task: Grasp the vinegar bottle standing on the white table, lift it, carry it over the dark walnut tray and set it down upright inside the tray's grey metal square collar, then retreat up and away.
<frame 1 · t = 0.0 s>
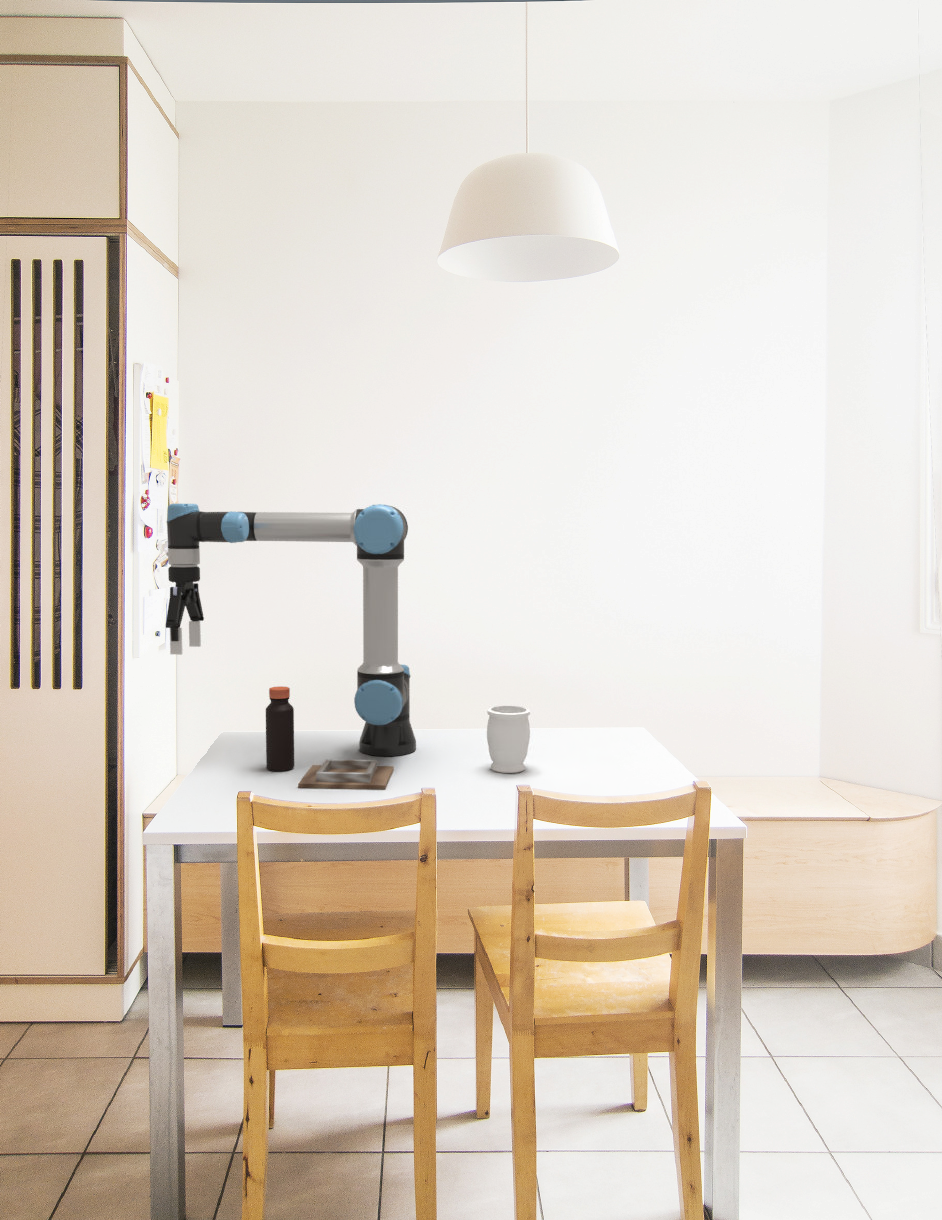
hand: (186, 650, 232), 28 cm above the table, fingers open, 13 cm apart
jar: (507, 769, 228), on the table
vinegar: (280, 769, 227), on the table
tray: (347, 778, 219), on the table
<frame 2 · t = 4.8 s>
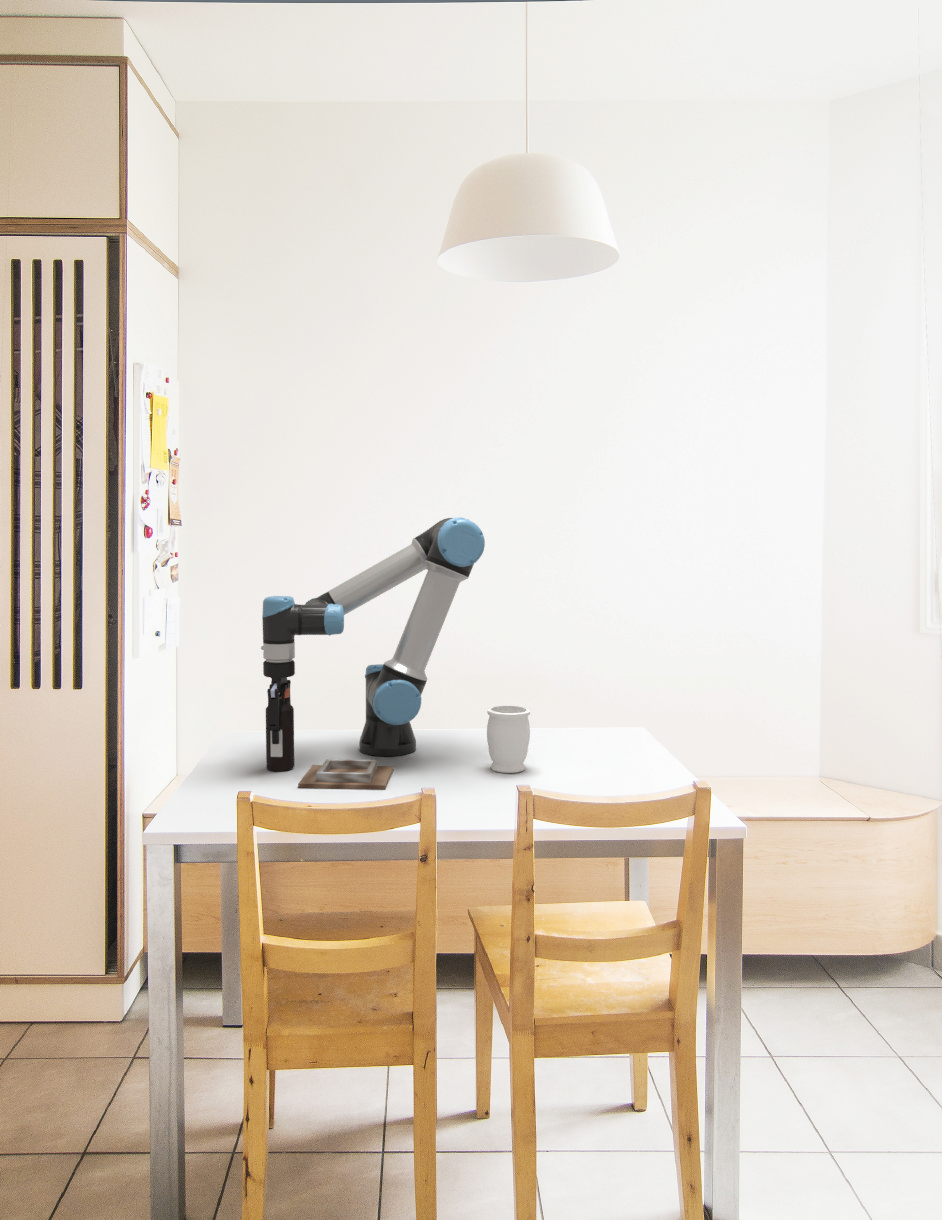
hand: (280, 752, 227), 4 cm above the table, fingers closed on vinegar, 6 cm apart
vinegar: (280, 769, 227), on the table, touching gripper
everything else where it was.
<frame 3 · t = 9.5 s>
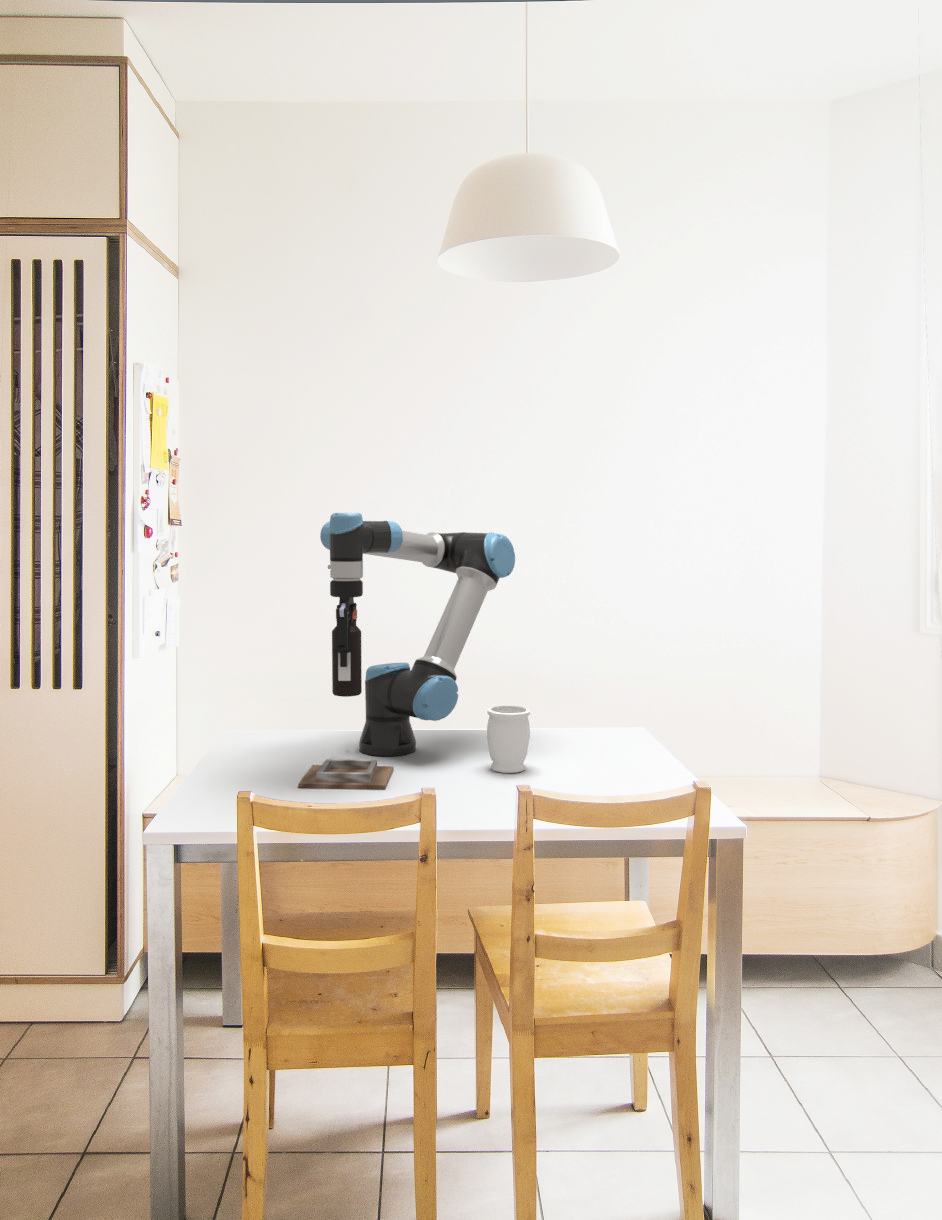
hand: (347, 677, 216), 24 cm above the table, fingers closed on vinegar, 6 cm apart
vinegar: (347, 695, 217), point 20 cm above the table, touching gripper
everything else where it was.
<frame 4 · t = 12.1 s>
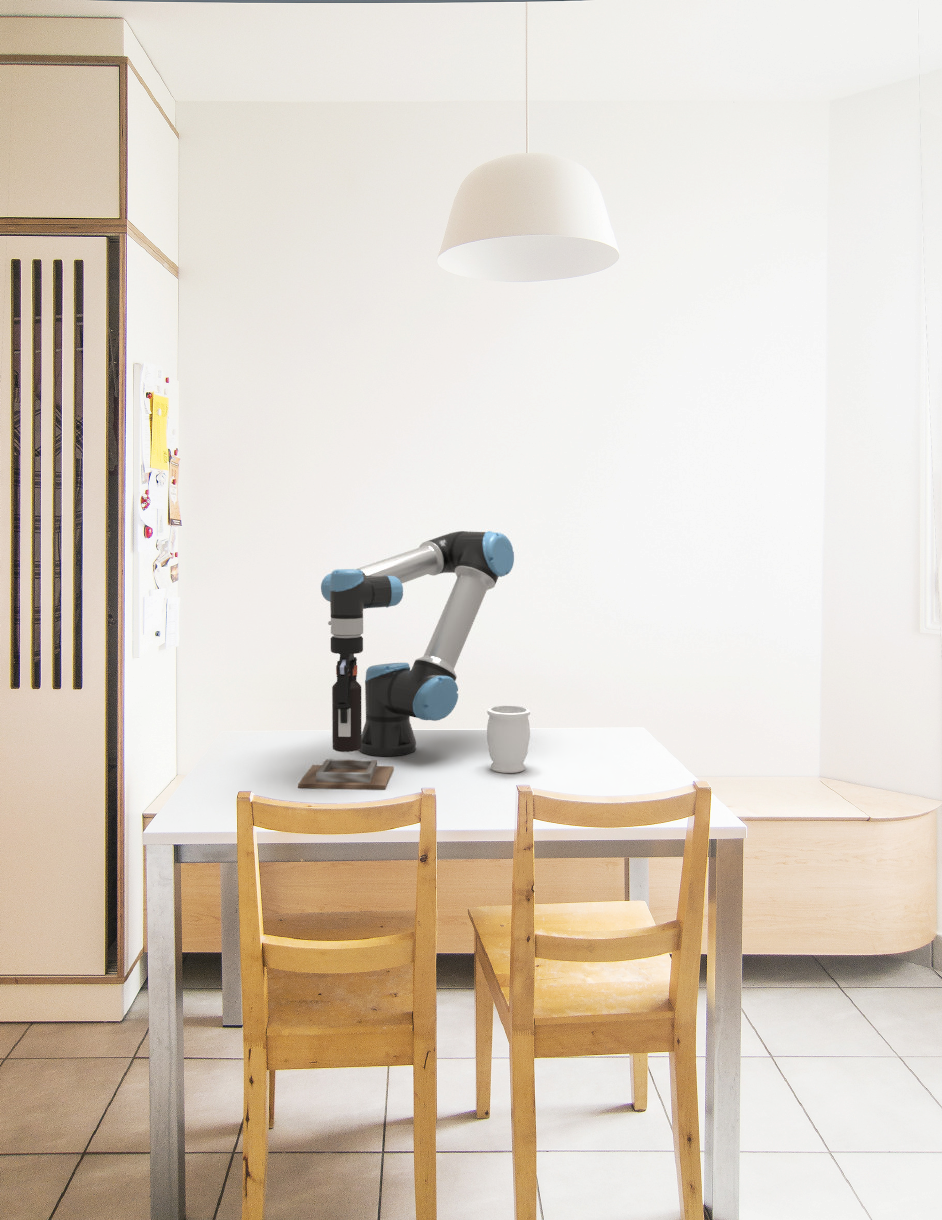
hand: (347, 732, 217), 11 cm above the table, fingers closed on vinegar, 6 cm apart
vinegar: (347, 749, 218), point 7 cm above the table, touching gripper
everything else where it was.
when the fingers open (6 cm above the table, at t = 14.2 s): vinegar drops 1 cm, resting on tray.
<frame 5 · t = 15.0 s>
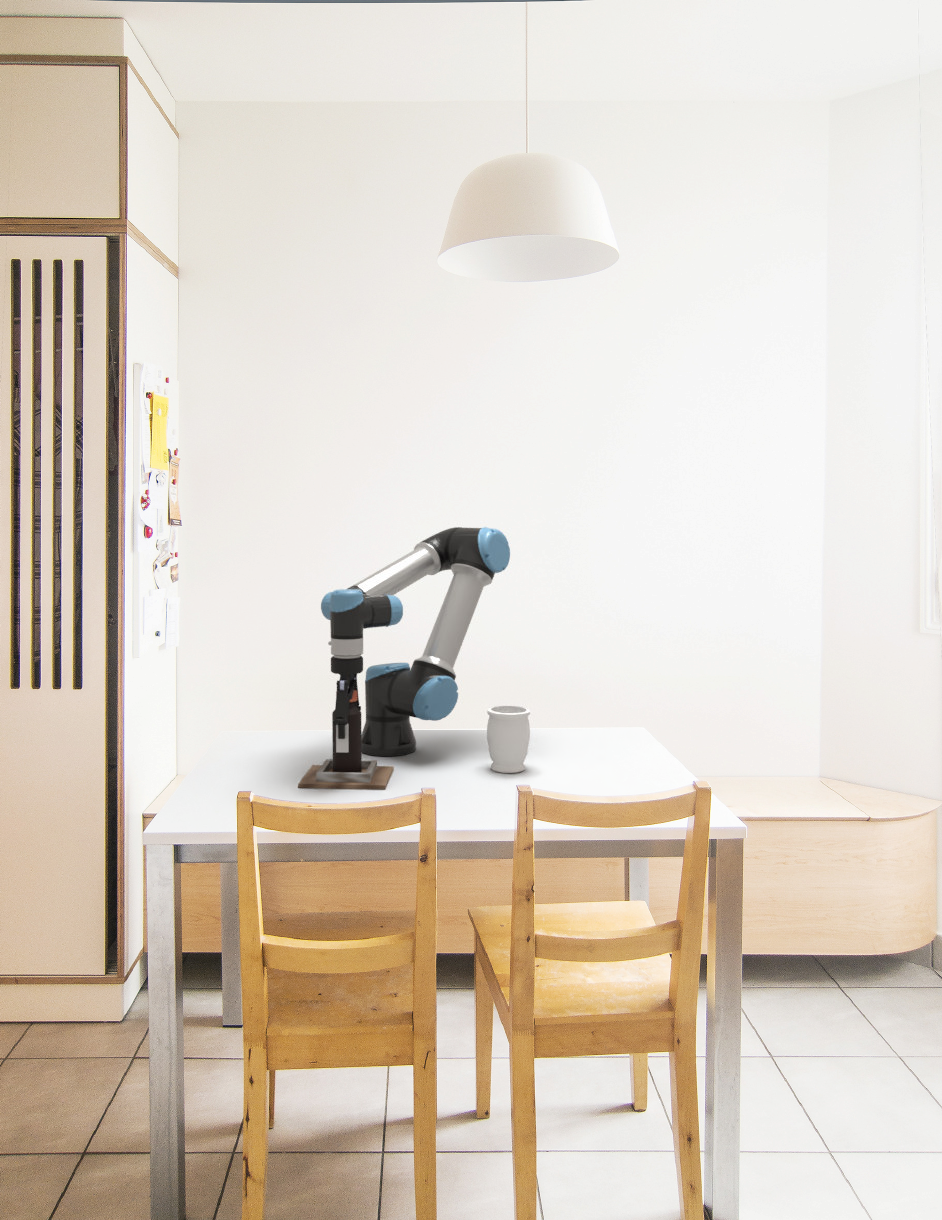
hand: (347, 744, 218), 8 cm above the table, fingers open, 13 cm apart
vinegar: (347, 775, 219), point 1 cm above the table, touching tray
everything else where it was.
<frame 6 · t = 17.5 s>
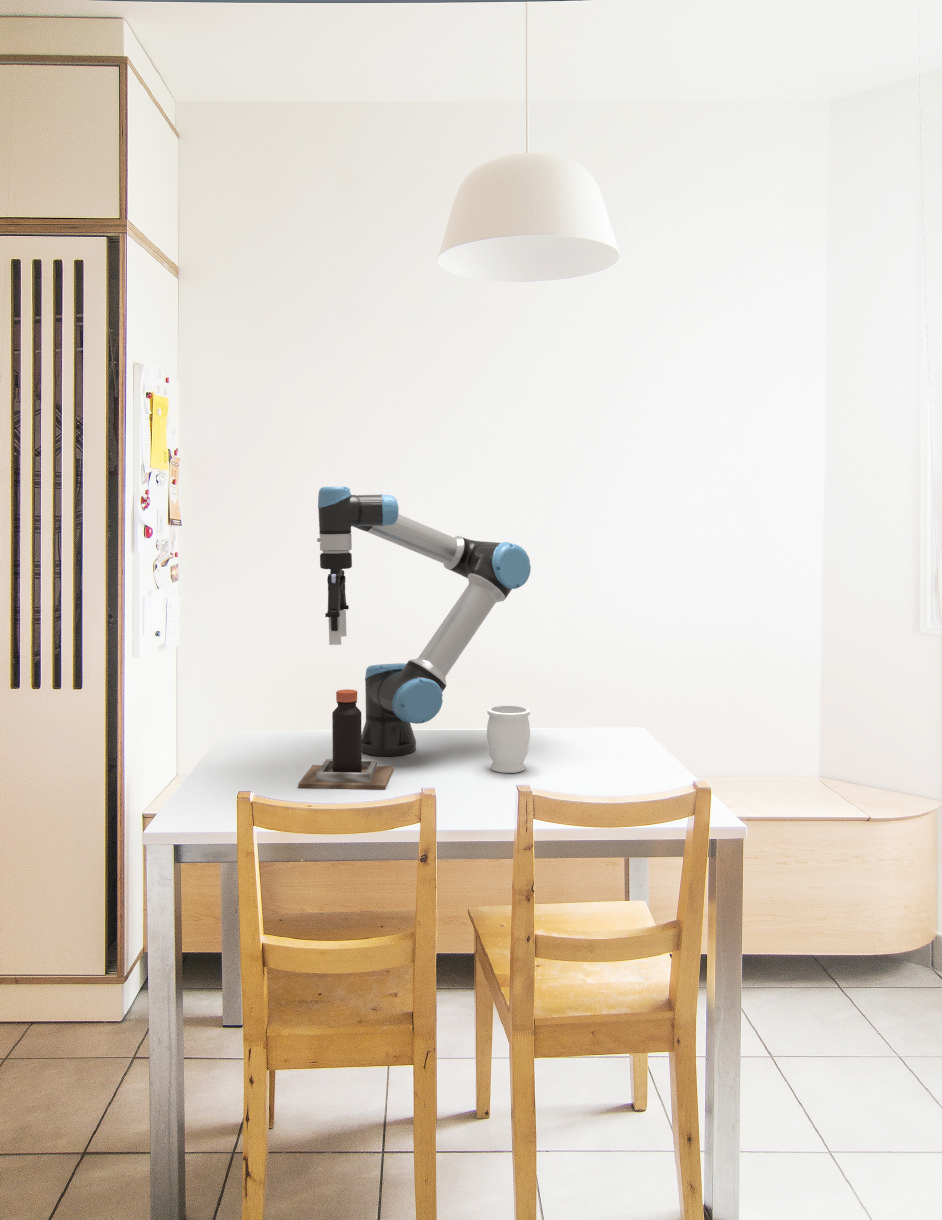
hand: (338, 640, 222), 32 cm above the table, fingers open, 13 cm apart
nothing on the table moved.
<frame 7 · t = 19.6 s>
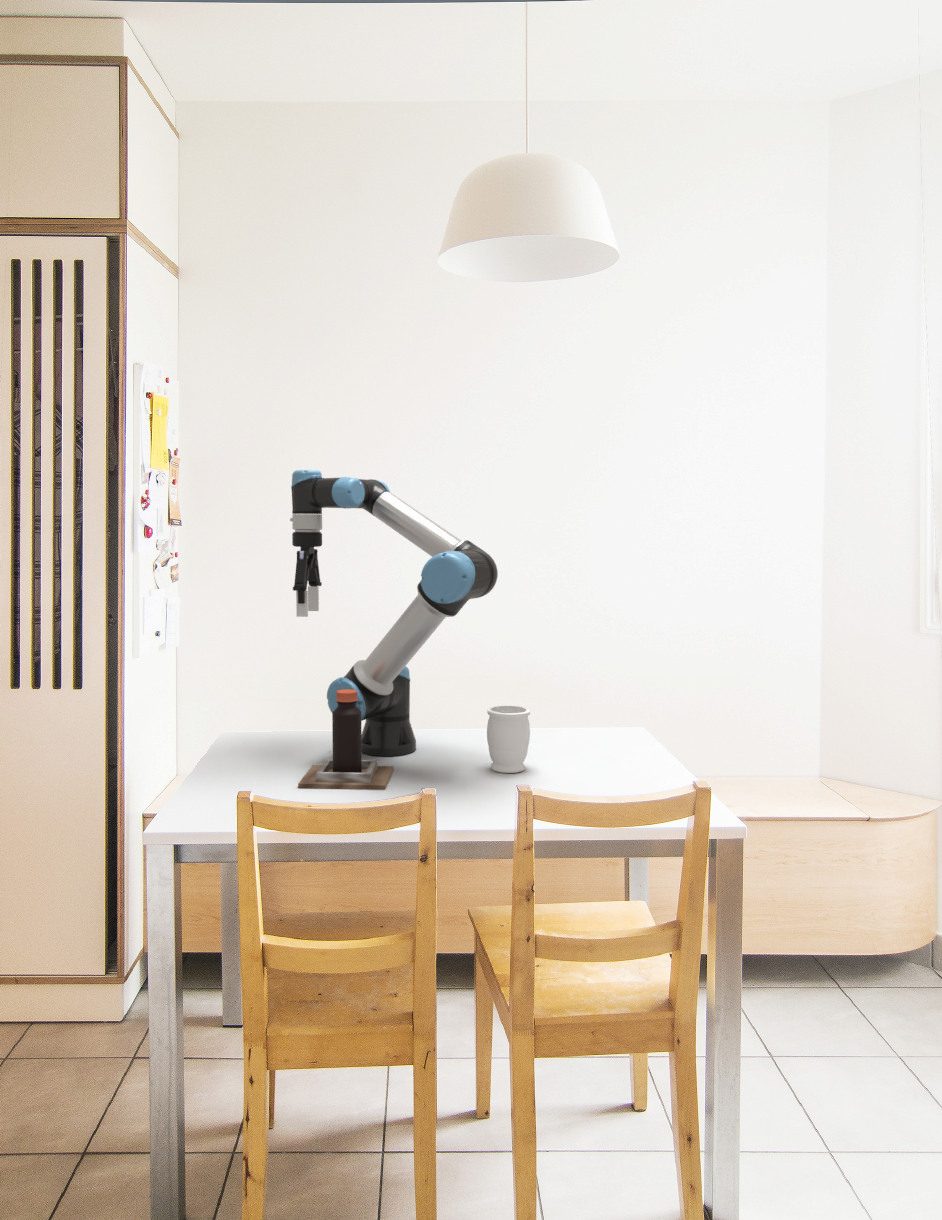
hand: (308, 613, 238), 37 cm above the table, fingers open, 13 cm apart
nothing on the table moved.
at the end: vinegar 0.2 cm off-centre on the tray, point 0.8 cm above the tray's base; vinegar tilted 0°; the gripper is holding nothing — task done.
